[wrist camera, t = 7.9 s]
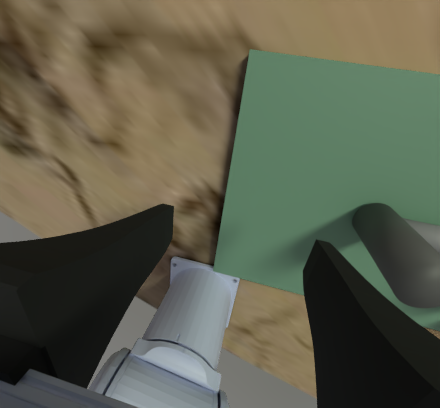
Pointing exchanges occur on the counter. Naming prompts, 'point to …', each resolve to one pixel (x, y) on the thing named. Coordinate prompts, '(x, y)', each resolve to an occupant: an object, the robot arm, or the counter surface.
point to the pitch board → (326, 166)
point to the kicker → (402, 253)
